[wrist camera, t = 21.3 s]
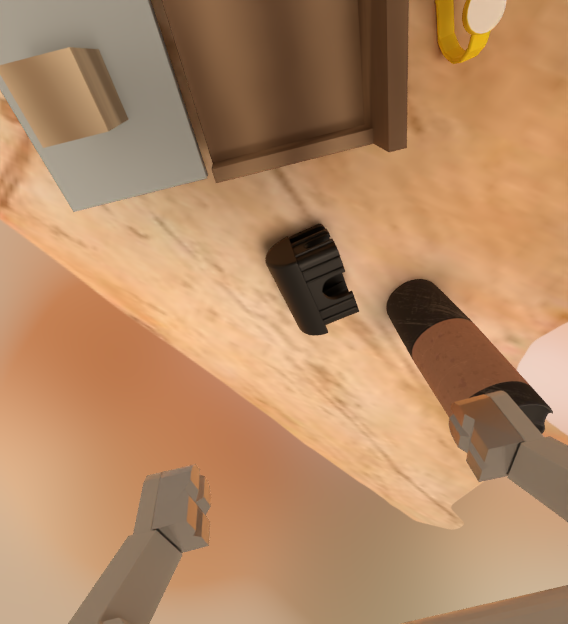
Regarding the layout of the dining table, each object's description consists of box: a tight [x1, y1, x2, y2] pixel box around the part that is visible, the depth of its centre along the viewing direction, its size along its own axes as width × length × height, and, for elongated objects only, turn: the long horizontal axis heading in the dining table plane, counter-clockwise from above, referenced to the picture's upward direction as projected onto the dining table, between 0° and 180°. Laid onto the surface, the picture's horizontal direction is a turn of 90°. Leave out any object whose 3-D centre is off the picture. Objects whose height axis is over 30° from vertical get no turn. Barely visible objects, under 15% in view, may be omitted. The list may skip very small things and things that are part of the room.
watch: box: [435, 0, 506, 64], centre depth 26 cm, size 6×3×6 cm, turn 20°
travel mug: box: [387, 279, 553, 434], centre depth 38 cm, size 8×8×20 cm
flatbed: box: [162, 0, 409, 183], centre depth 23 cm, size 13×16×12 cm
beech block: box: [0, 47, 128, 148], centre depth 21 cm, size 4×4×5 cm
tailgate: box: [0, 0, 208, 212], centre depth 24 cm, size 2×14×11 cm
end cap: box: [266, 224, 359, 335], centre depth 38 cm, size 10×7×7 cm
